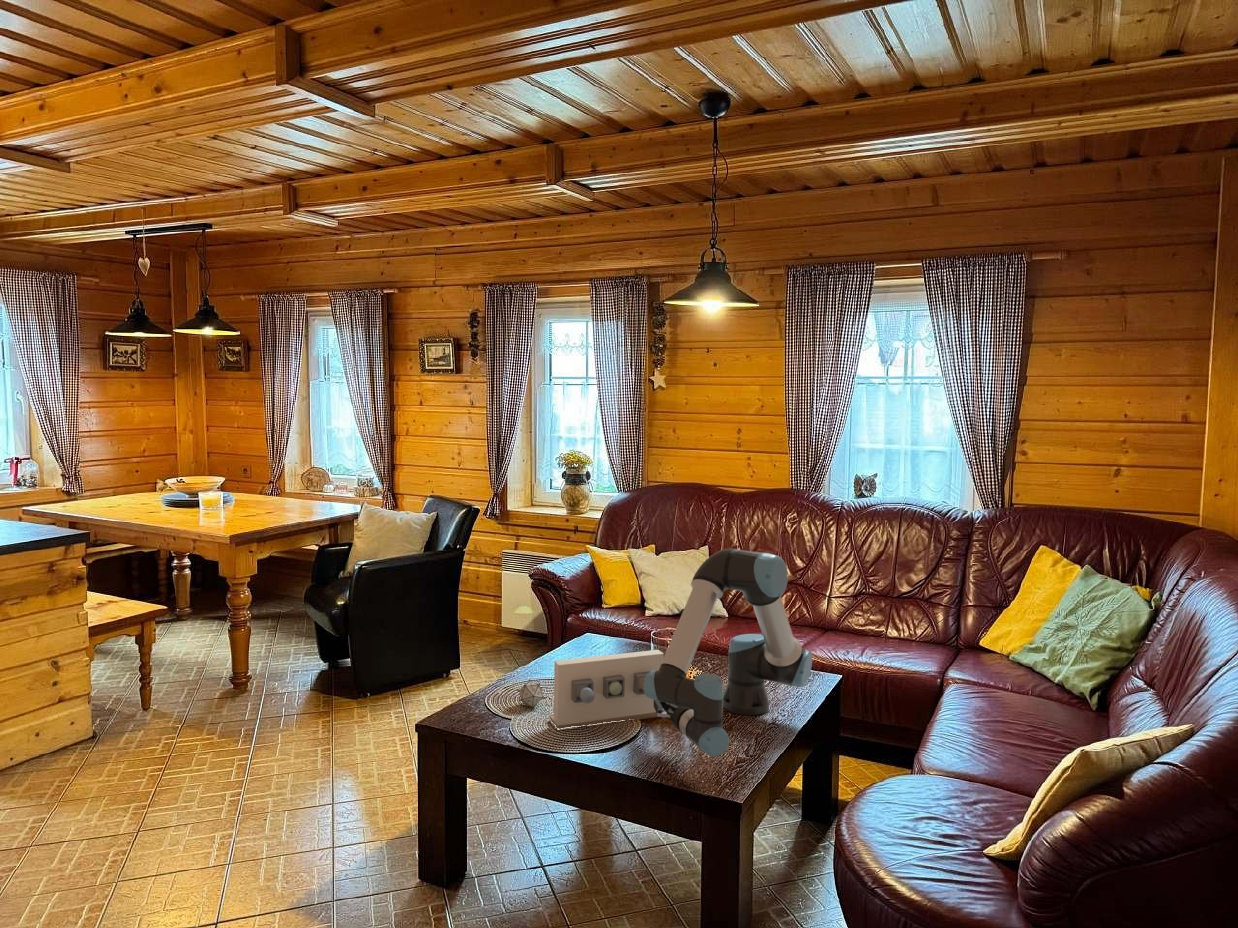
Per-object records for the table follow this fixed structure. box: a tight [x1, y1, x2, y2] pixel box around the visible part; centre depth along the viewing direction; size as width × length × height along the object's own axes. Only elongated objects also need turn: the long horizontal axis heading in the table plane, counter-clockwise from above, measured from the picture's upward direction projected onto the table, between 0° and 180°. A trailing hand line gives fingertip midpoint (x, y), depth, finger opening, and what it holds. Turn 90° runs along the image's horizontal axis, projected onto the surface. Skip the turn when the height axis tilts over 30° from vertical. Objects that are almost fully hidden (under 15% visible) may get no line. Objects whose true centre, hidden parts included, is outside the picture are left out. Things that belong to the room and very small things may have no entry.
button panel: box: [549, 649, 665, 728], centre depth 255 cm, size 11×34×20 cm, turn 112°
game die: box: [516, 678, 546, 709], centre depth 265 cm, size 9×8×10 cm
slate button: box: [579, 687, 595, 703], centre depth 244 cm, size 2×4×4 cm, turn 112°
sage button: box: [608, 681, 622, 695], centre depth 250 cm, size 2×4×4 cm, turn 112°
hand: (654, 691), depth 248 cm, fingers closed
